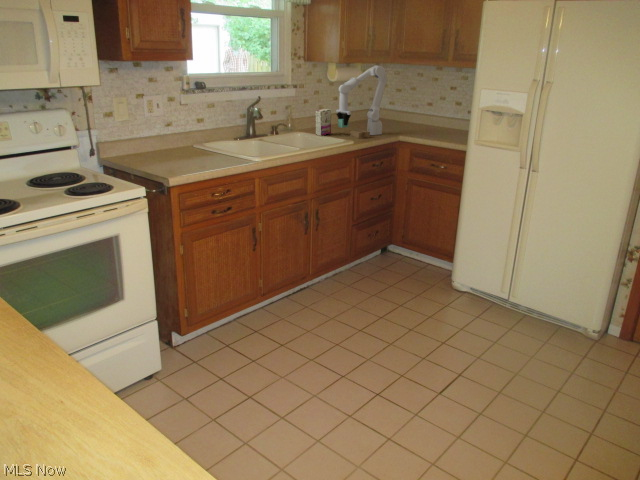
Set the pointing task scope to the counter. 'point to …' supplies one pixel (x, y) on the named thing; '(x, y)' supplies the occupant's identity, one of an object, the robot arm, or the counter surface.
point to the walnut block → (360, 134)
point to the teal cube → (342, 123)
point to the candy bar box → (323, 122)
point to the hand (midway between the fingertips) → (343, 124)
